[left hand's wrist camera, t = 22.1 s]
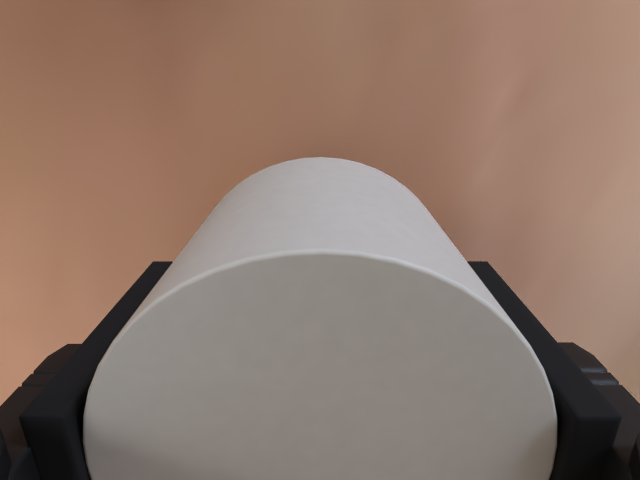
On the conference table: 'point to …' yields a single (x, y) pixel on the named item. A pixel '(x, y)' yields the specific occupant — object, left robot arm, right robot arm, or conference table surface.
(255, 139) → the conference table surface
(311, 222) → the canister
